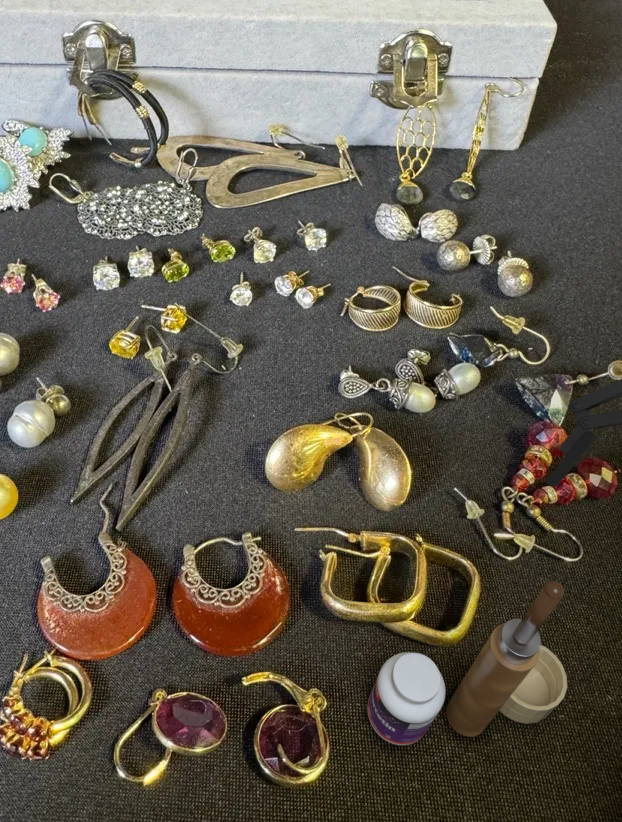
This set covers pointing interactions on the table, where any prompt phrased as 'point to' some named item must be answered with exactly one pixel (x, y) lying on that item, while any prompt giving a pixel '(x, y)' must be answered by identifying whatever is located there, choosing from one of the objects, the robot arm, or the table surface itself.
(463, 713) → the wooden dowel cylinder
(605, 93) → the table surface
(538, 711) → the bowl
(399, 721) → the pill bottle
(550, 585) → the wooden handled stamp
